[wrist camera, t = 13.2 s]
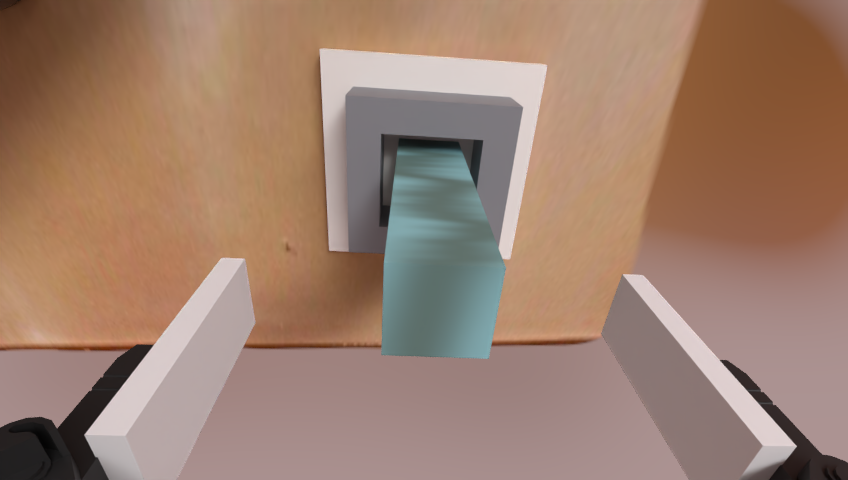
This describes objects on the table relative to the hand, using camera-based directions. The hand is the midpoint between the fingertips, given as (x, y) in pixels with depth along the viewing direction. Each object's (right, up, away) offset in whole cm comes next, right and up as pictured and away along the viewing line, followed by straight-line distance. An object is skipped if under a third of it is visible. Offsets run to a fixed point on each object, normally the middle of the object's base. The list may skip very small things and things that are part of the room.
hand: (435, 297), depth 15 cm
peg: (0, +7, +14) cm, 16 cm away
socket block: (0, +8, +15) cm, 17 cm away
